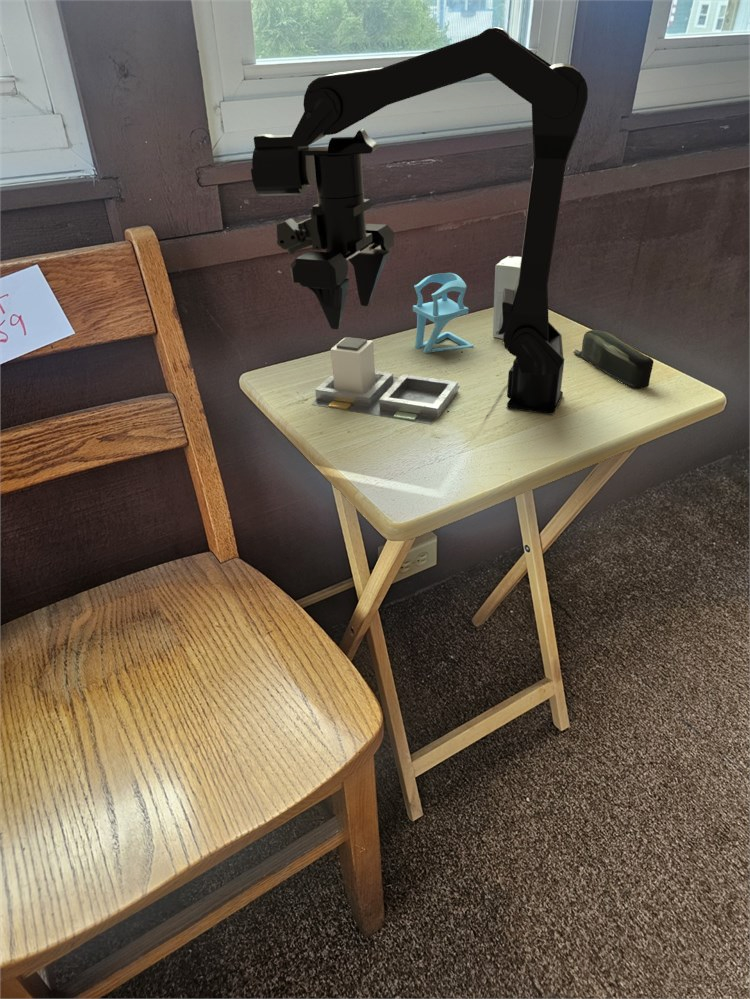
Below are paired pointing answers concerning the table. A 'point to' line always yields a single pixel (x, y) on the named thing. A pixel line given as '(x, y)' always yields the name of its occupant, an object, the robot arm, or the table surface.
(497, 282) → the skincare box
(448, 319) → the chair
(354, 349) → the plug
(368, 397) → the grey double tray
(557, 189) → the robot arm
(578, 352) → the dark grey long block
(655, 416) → the table surface
